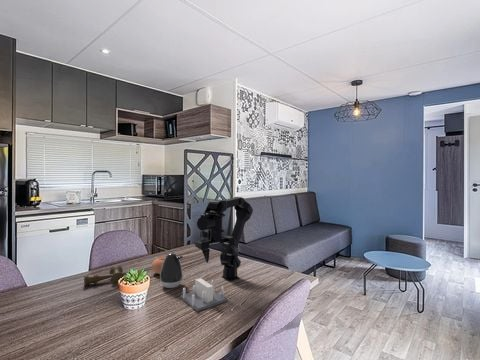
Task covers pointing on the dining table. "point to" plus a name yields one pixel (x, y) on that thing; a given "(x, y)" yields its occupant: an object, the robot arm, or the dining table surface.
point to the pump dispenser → (171, 271)
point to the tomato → (157, 265)
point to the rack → (203, 298)
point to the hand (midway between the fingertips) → (215, 260)
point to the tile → (204, 289)
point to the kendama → (105, 276)
